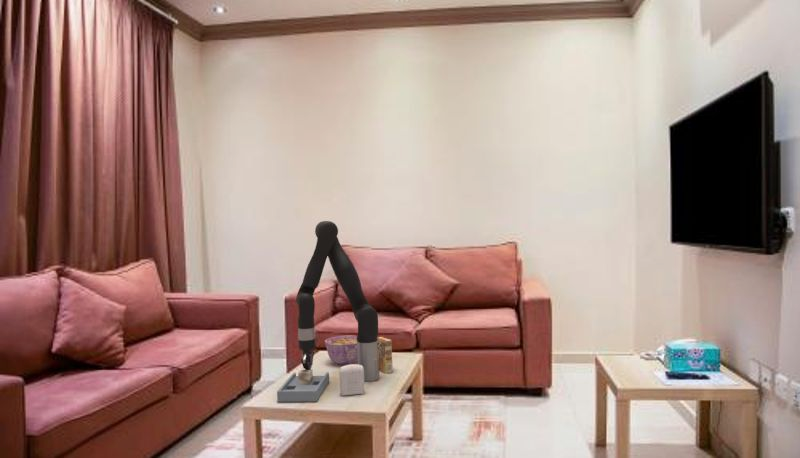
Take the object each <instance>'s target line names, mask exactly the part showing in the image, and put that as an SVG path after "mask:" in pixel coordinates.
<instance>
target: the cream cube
mask: <svg viewBox="0 0 800 458" xmlns="http://www.w3.org/2000/svg"><path fill="white" fill-rule="evenodd" d="M313 374H314V373H313V369H311V370H305V369H300V370H299V372H298V373H297V376H298V382H299V385H310V384H311V383H312V382H313V376H314V375H313Z"/></svg>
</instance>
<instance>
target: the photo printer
mask: <svg viewBox="0 0 800 458" xmlns="http://www.w3.org/2000/svg"><path fill="white" fill-rule="evenodd" d="M364 394H365V381H364V369H363V366H362V365H358V363H353V364H349V365H342V366H340V370H339V395H340V396H341V397H343V396H354V395H355V396H356V395H364Z"/></svg>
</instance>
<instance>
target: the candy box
mask: <svg viewBox="0 0 800 458" xmlns="http://www.w3.org/2000/svg"><path fill="white" fill-rule="evenodd" d="M377 345H378V356H379V372H382V373H383V374H390V373H393V372H394V369H393V367H394V366H393V350H392V349H393V347H392V339H390V338H386V337H384V336H379V337H378V336H377Z"/></svg>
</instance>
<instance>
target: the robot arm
mask: <svg viewBox="0 0 800 458" xmlns="http://www.w3.org/2000/svg"><path fill="white" fill-rule="evenodd" d="M314 232H315V236H316V238H317V240H316V244H315V248H314V251H313V254H312V256H311V258H310V260H309V262H308V264H307V267H306V270H305V272H304V275H303V279H302V282H301V285H300V287H299V289H298V291H297V294H296V298H295V300H296V301H295V303H296V305H298V317H297V344H298V345H297V346H298V350H300V351H302V354H301V357H302V358H301V361H300V362H301V365H302V369H303V370H312V366H313V363H314V351H313V350H315V349H316V347H317V342H316V330H315V316H314V315H315V305H316V303H315V301H316V300H315V297H314V293H315V290H316V289H317V288H318V287H319V284H320V281H321V278H322V275H323V273H324V272H323V271H324V268H325V265H326V261H327V259H328V261H329V263H330V266H331V268H332V271H333V273H334V275H335V277H336V279H337V282H338V283H339V285H340V287H341V289H342V291H343V292H344V294H345V296H346V298H347V299H348V301H349V304H350V306H351V309H352V312H353V315H354V317H355V318H354V319H355V320H356V321H357V335H356V336H357V357H358V360H357V365H362V366H363V369H364V382H374V381H378V380H379V379H380V371H379V356H378V345H377V338H378V336H379V315H378V312H377V310H376V309H375V308H374V307H373V306H372V305H370V303H369V301H368V299H367V298H366V296H365V294H364V292H363V287H362V284H361V279H360V277H359V274H358V272H357V270H356V268H355V265H354V264H353V262H352V259H350V258H349V256H348V254H347V253H346V251H345V250H344V249H343V247H342V245H341V243H340V240H339V238H338V234H339V228H338V226H337V225H336V223H335V222H333V221H331V220H324V221H320V222H318V223H317V224H316V225H315V230H314Z"/></svg>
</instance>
